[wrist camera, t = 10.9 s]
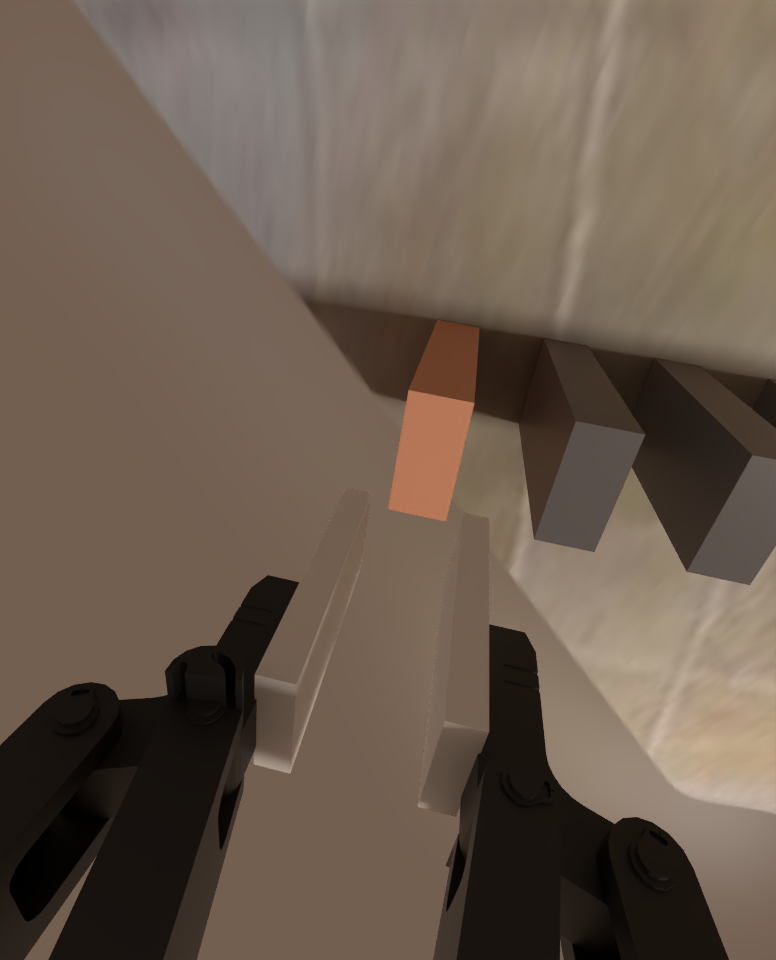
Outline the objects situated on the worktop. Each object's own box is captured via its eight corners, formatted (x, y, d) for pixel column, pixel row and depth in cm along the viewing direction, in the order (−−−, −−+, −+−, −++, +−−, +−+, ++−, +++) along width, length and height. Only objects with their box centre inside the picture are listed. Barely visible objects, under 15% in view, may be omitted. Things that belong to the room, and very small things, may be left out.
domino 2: (518, 423, 31) (534, 539, 21) (543, 338, 28) (575, 421, 18) (558, 431, 31) (594, 551, 20) (587, 346, 28) (645, 434, 18)
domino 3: (619, 443, 30) (686, 571, 20) (654, 358, 28) (752, 455, 17) (660, 451, 30) (749, 585, 20) (700, 366, 28) (825, 469, 17)
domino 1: (421, 405, 31) (388, 509, 21) (437, 319, 29) (408, 389, 18) (460, 412, 31) (445, 521, 21) (479, 327, 29) (474, 402, 18)
